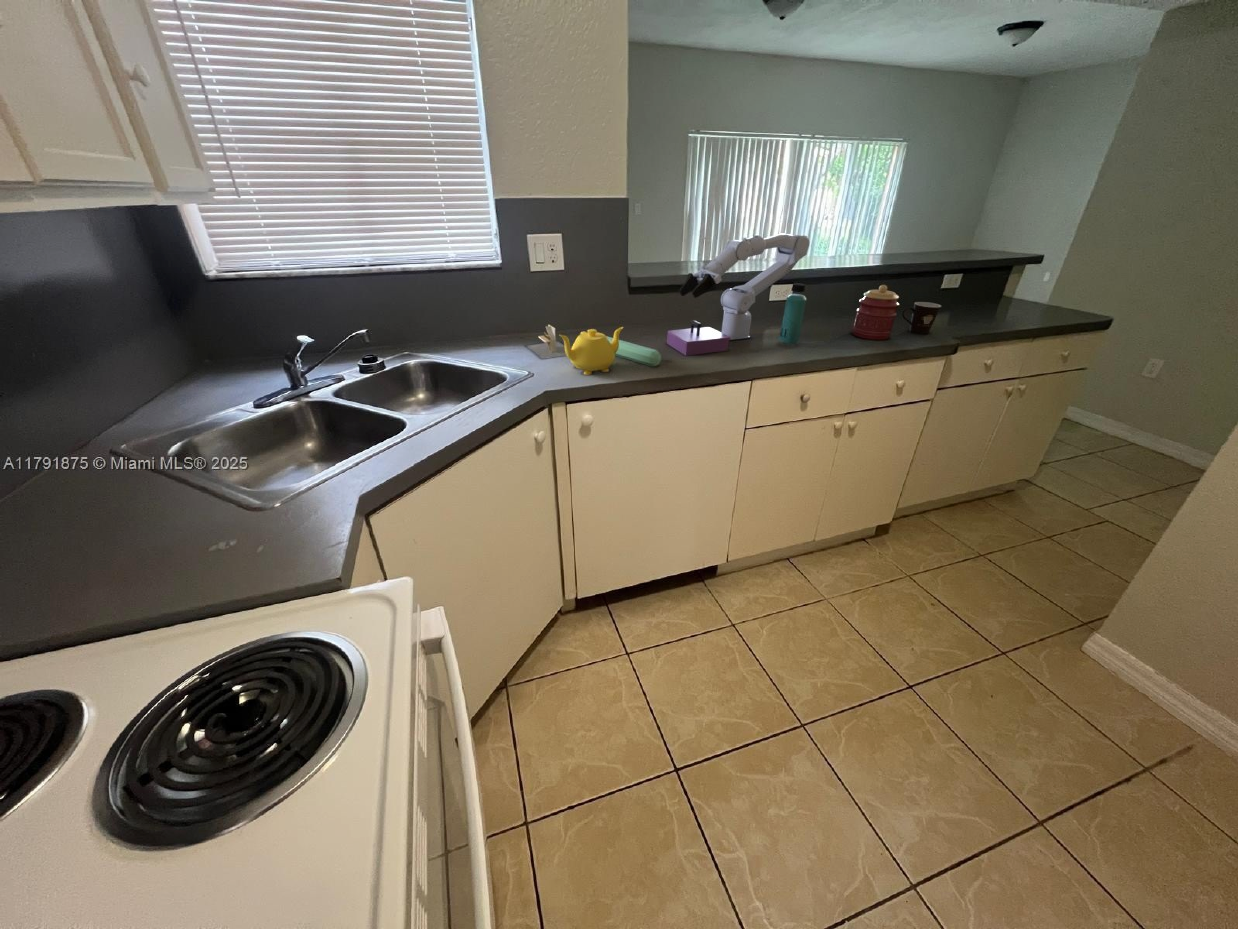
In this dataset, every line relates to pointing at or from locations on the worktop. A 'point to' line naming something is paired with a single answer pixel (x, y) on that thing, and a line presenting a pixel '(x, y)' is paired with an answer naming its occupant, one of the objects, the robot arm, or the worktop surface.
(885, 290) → the kitchen canister
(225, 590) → the worktop surface
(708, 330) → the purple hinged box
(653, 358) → the container
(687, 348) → the purple box base
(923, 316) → the coffee mug
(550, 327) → the architectural model
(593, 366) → the teapot
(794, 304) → the beverage bottle
